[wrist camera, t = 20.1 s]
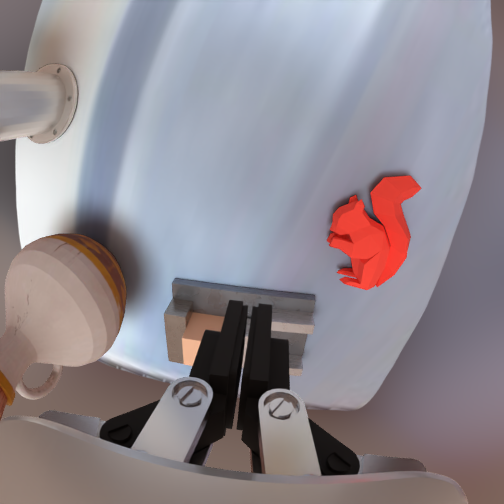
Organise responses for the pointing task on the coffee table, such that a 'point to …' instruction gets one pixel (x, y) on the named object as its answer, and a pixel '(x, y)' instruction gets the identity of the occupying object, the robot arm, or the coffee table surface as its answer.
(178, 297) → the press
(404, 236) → the animal figurine
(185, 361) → the block
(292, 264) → the coffee table surface
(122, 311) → the jug
